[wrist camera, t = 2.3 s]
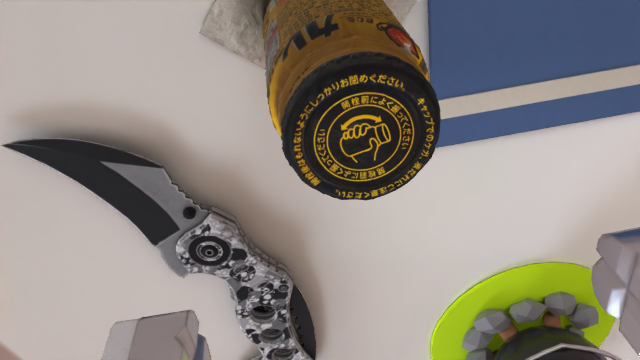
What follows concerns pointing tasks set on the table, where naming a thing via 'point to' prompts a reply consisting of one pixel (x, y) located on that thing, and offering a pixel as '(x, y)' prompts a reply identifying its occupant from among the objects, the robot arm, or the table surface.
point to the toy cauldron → (526, 318)
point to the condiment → (338, 88)
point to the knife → (188, 238)
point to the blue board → (531, 64)
